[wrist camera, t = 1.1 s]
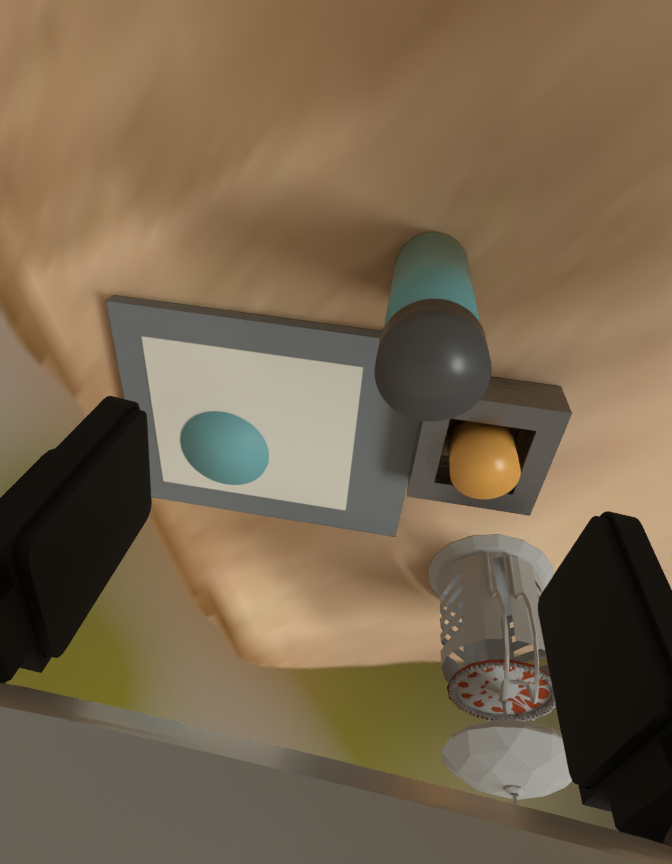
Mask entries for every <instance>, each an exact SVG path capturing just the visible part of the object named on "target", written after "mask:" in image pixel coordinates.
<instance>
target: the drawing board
mask: <svg viewBox="0 0 672 864" xmlns="http://www.w3.org/2000/svg"><path fill="white" fill-rule="evenodd" d="M106 304H107V309H108V314H109V320H110V325H111V331H112V336H113V341H114V347H115V352H116V357H117V363H118V368H119V374H120V379H121V384H122V390H123V395H124V399H126V400H130V401H134V402H137V403H138V405H139V407H140V410H142V411H145V412H146V414H147V425H148V444H149V463H150V483H151V497H153V498H160V499H166V500H172V501H178V502H184V503H190V504H196V505H202V506H209V507H215V508H221V509H227V510H233V511H239V512H245V513H251V514H258V515H264V516H270V517H276V518H282V519H288V520H294V521H301V522H307V523H313V524H319V525H325V526H331V527H337V528H343V529H350V530H356V531H362V532H368V533H374V534H380V535H386V536H392V537H396V532H397V527H398V522H399V518H400V513H401V508H402V503H403V499H404V494H405V489H406V484H407V479H408V475H409V470H410V465H411V460H412V456H413V451H414V446H415V441H416V437H417V432H418V427H419V422H420V421H419V420H414V419H411V418H408V417H406V416H404V415H402V414H400V413H398V412H397V411H395V410H394V409H393V408H391V407H390V406H389V405H388V404H387V403H386V402H385V400H384V399H383V398H382V396H381V394H380V393H379V391H378V388H377V385H376V381H375V374H374V371H375V362H376V357H377V351H378V346H379V341H380V336H381V333H382V331H375V330H368V329H360V328H353V327H346V326H338V325H331V324H323V323H316V322H309V321H301V320H294V319H286V318H279V317H272V316H264V315H257V314H249V313H242V312H234V311H227V310H220V309H212V308H205V307H197V306H190V305H183V304H175V303H168V302H160V301H153V300H145V299H138V298H131V297H123V296H116V295H114V296H112V297H111V298H110V299H108V300H107V301H106Z"/></svg>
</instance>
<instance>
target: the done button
mask: <svg viewBox="0 0 672 864" xmlns="http://www.w3.org/2000/svg"><path fill="white" fill-rule="evenodd" d="M449 464H450V478H451V481H452V483H453V485H454V487H455V488H456V489H457V490H458V491H459V492H461V493H462V494H464V495H466V496H468V497H471V498H476V499H492V498H497V497H500V496H502V495H504V494H506V493H508V492H509V491H511V490H512V489H513V488H514V487H515V486H516V484H517V483H518V481H519V479H520V474H521V469H520V464H519V460H518V455H517V451H516V447H515V442H514V438H513V434H512V432H511V431H510V429H509V428H508V427H506V426H499V425H492V424H485V423H478V422H472V421H465V422H463V423H461V424H460V425H458V426H457V427H456V428H455V429H454V430H453V432H452V433H451V435H450V438H449Z"/></svg>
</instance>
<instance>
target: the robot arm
mask: <svg viewBox="0 0 672 864" xmlns="http://www.w3.org/2000/svg"><path fill="white" fill-rule="evenodd" d="M151 503H152V502H151V483H150V463H149V444H148V425H147V414H146V412H145V411H142V410H140V407H139V405H138V403H137V402H134V401H130V400H126V399H121V398H117V397H113V396H107V397H106V398H105V399H103V400H102V401H101V402H100V403H99V405H98V406H97V407H96V408H95V409H94V410H93V411H92V412H91V413H90V414H89V415H88V416H87V417H86V418H85V419H84V420H83V421H82V422H81V423H80V424H79V425H78V426H77V427H76V428H75V429H74V430H73V431H72V432H71V433H70V434H69V435H68V436H67V437H66V438H65V439H64V440H63V441H62V442H61V444H60V445H58V446H57V447H56V448H55V449H52V450H49V451H48V452H46V453H45V454H44V455H43V456H42V457H41V458H40V459H39V460H38V461H37V462H36V463H35V464H34V465H33V466H32V467H31V468H30V469H29V470H28V471H27V472H26V473H25V474H24V475H23V476H22V477H21V478H20V479H19V480H18V481H17V482H16V483H15V484H14V485H13V486H12V487H11V488H10V489H9V490H8V491H7V492H6V493H5V494H4V495H3V496H2V497H1V498H0V864H672V590H671V588H670V585H669V583H668V581H667V579H666V577H665V574H664V572H663V570H662V568H661V566H660V564H659V561H658V559H657V557H656V555H655V553H654V550H653V548H652V546H651V544H650V542H649V539H648V537H647V535H646V533H645V531H644V528H643V526H642V524H641V522H640V521H639V520H638V519H637V518H635V517H631V516H626V515H622V514H618V513H613V512H604V513H602V514H601V516H600V517H599V516H594V517H592V518H591V520H590V521H589V522H588V524H587V525H586V527H585V529H584V530H583V532H582V533H581V535H580V536H579V538H578V539H577V541H576V542H575V544H574V545H573V547H572V548H571V550H570V551H569V553H568V554H567V556H566V557H565V559H564V560H563V562H562V563H561V565H560V566H559V568H558V569H557V571H556V572H555V574H554V575H553V577H552V578H551V580H550V581H549V583H548V585H547V586H546V588H545V589H544V591H543V592H542V594H541V595H540V598H539V601H538V616H539V621H540V626H541V631H542V636H543V641H544V647H545V652H546V657H547V662H548V667H549V672H550V678H551V683H552V688H553V693H554V698H555V703H556V709H557V714H558V718H559V724H560V729H561V734H562V739H563V745H564V750H565V755H566V760H567V765H568V770H569V774H570V777H571V779H572V781H573V782H574V783H575V784H578V785H579V789H580V794H581V799H582V804H583V805H586V806H590V807H594V808H599V809H603V810H607V811H611V812H612V815H613V818H614V822H615V827H616V829H615V830H612V829H608V828H604V827H600V826H597V825H593V824H589V823H586V822H581V821H578V820H574V819H571V818H567V817H563V816H559V815H556V814H552V813H548V812H543V811H539V810H536V809H532V808H527V807H523V806H519V805H516V804H512V803H508V802H504V801H500V800H495V799H491V798H488V797H483V796H480V795H476V794H472V793H467V792H464V791H459V790H456V789H451V788H447V787H443V786H439V785H435V784H431V783H427V782H423V781H419V780H415V779H411V778H407V777H403V776H399V775H395V774H390V773H387V772H383V771H379V770H374V769H370V768H366V767H362V766H358V765H354V764H350V763H346V762H342V761H338V760H334V759H330V758H325V757H321V756H317V755H313V754H309V753H305V752H301V751H296V750H293V749H288V748H284V747H280V746H276V745H272V744H268V743H264V742H260V741H255V740H252V739H247V738H243V737H238V736H235V735H231V734H226V733H222V732H218V731H214V730H210V729H205V728H201V727H197V726H193V725H189V724H185V723H180V722H176V721H172V720H168V719H164V718H159V717H155V716H150V715H147V714H143V713H138V712H134V711H130V710H126V709H122V708H117V707H113V706H109V705H104V704H100V703H95V702H91V701H86V700H81V699H77V698H73V697H68V696H63V695H58V694H54V693H50V692H45V691H41V690H36V689H31V688H27V687H22V686H16V685H10V684H7V683H6V682H7V681H9V680H11V679H12V678H13V676H14V674H15V673H16V672H17V670H18V669H19V668H24V669H27V670H32V671H36V672H40V673H42V671H43V670H44V668H45V667H46V665H47V663H48V662H49V660H50V659H51V657H55V658H58V657H60V656H61V655H62V654H63V653H64V651H65V650H66V648H67V647H68V645H69V643H70V642H71V640H72V639H73V637H74V635H75V634H76V632H77V631H78V629H79V627H80V626H81V624H82V623H83V621H84V620H85V618H86V616H87V615H88V613H89V611H90V610H91V608H92V606H93V605H94V604H95V602H96V600H97V599H98V597H99V596H100V594H101V592H102V591H103V589H104V587H105V586H106V584H107V583H108V581H109V579H110V578H111V576H112V575H113V573H114V572H115V570H116V568H117V567H118V565H119V564H120V562H121V560H122V559H123V557H124V556H125V554H126V552H127V551H128V549H129V548H130V546H131V544H132V543H133V541H134V540H135V538H136V536H137V535H138V533H139V532H140V530H141V528H142V527H143V525H144V523H145V522H146V520H147V518H148V516H149V514H150V510H151Z"/></svg>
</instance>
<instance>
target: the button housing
mask: <svg viewBox="0 0 672 864" xmlns="http://www.w3.org/2000/svg"><path fill="white" fill-rule="evenodd" d="M571 414H572V412H571V410H570V407H569V405H568V402H567V400H566V397H565V395H564V393H563V390H562V388H561V386H554V385H546V384H539V383H532V382H525V381H518V380H511V379H503V378H496V377H491V378H490V382H489V385H488V388H487V390H486V392H485V393H484V395H483V396H482V398H481V399H480V400H479V401H478V403H477V404H476V405H475V406H473V407H472V408H471V409H470V410H468V411H467V412H465V413H463V414H461V415H459V416H457V417H454V418H452V419H458V420H465V421H472V422H478V423H485V424H492V425H499V426H506V427H513V428H520V430H519V433H518V436H517V439H516V442H515V447H516V451H517V455H518V460H519V464H520V469H521V474H520V479H519V481H518V483H517V484H516V486H515V487H514V488H513V489H512V490H511V491H509V492H508V493H506V494H504V495H502V496H500V497H497V498H492V499H476V498H471V497H468V496H466V495H464V494H462V493H461V492H459V491H458V490H457V489H456V488H455V487H454V485H453V483H452V481H451V478H450V464H449V457H447V456H441V453H442V449H443V445H444V441H445V437H446V433H447V429H448V425H449V421H450V419H448V420H444V421H436V422H427V421H420V422H419V427H418V432H417V437H416V441H415V446H414V451H413V456H412V460H411V465H410V470H409V475H408V487H407V496H409V497H415V498H421V499H428V500H434V501H440V502H447V503H453V504H460V505H466V506H472V507H479V508H485V509H491V510H498V511H504V512H510V513H517V514H523V515H529V516H530V514H531V512H532V509H533V507H534V504H535V502H536V499H537V497H538V495H539V492H540V490H541V487H542V485H543V482H544V480H545V478H546V475H547V473H548V470H549V468H550V465H551V463H552V461H553V458H554V456H555V453H556V451H557V448H558V446H559V444H560V441H561V439H562V436H563V434H564V431H565V429H566V427H567V424H568V422H569V419H570V417H571Z"/></svg>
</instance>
